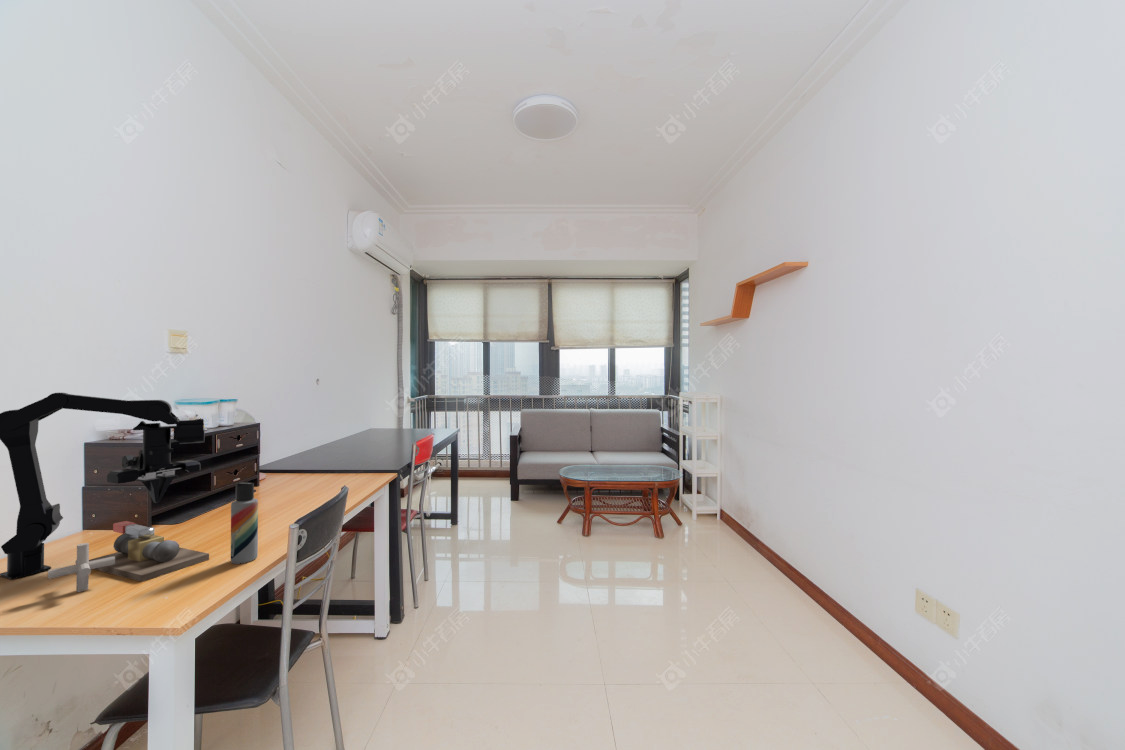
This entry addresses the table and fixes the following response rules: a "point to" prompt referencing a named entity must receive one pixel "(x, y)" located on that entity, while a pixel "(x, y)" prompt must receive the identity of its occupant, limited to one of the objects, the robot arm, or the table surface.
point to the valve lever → (133, 529)
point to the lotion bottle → (244, 524)
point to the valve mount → (149, 557)
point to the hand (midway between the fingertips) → (156, 502)
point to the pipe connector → (81, 567)
